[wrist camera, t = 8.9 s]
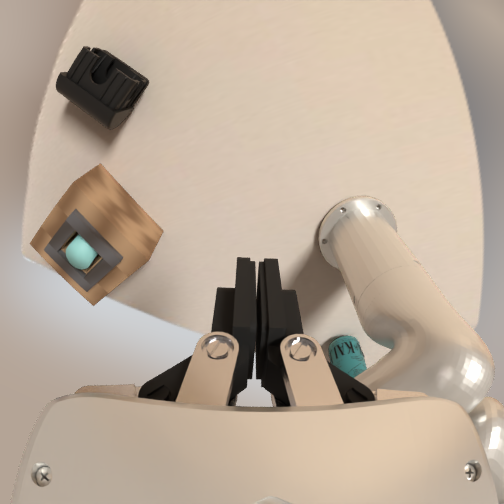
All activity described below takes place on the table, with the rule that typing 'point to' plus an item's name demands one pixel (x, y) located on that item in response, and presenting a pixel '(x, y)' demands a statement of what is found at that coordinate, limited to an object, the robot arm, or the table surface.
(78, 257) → the peg
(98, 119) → the end cap
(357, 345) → the beverage bottle
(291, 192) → the table surface
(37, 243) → the socket block
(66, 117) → the table surface
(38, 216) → the table surface
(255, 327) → the robot arm
